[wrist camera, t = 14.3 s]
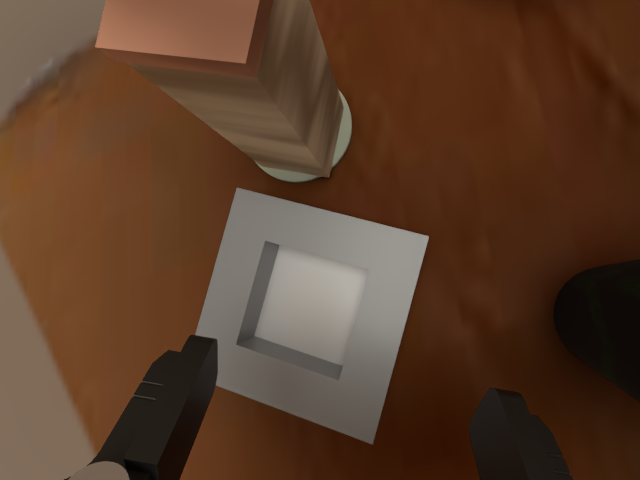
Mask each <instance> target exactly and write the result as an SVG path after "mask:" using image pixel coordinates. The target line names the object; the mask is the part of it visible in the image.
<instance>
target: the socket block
mask: <svg viewBox="0 0 640 480" xmlns="http://www.w3.org/2000/svg"><path fill="white" fill-rule="evenodd" d="M428 239H429V236H425V235H421V234H418V233H414V232H410V231H406V230H402V229H398V228H394V227H390V226H386V225H382V224H378V223H374V222H370V221H366V220H362V219H359V218H355V217H351V216H347V215H343V214H339V213H335V212H331V211H327V210H323V209H319V208H315V207H311V206H307V205H303V204H299V203H296V202H292V201H288V200H284V199H280V198H276V197H272V196H268V195H264V194H260V193H256V192H252V191H248V190H244V189H240V188H237V189H236V193H235V196H234V200H233V203H232V207H231V210H230V214H229V217H228V221H227V224H226V228H225V232H224V235H223V239H222V242H221V246H220V249H219V253H218V256H217V260H216V263H215V267H214V271H213V274H212V278H211V281H210V285H209V288H208V292H207V295H206V299H205V303H204V306H203V310H202V313H201V317H200V320H199V324H198V327H197V331H196V334H195V335H197V336H203V337H209V338H215V339H217V341H218V375H217V381H216V386H219V387H222V388H224V389H227V390H229V391H232V392H235V393H237V394H240V395H243V396H245V397H248V398H251V399H253V400H256V401H259V402H261V403H264V404H266V405H269V406H272V407H274V408H277V409H280V410H282V411H285V412H288V413H290V414H293V415H295V416H298V417H301V418H303V419H306V420H309V421H311V422H314V423H317V424H319V425H322V426H325V427H327V428H330V429H332V430H335V431H338V432H340V433H343V434H346V435H348V436H351V437H354V438H356V439H359V440H361V441H364V442H367V443H369V444H372V445H373V442H374V438H375V434H376V431H377V427H378V423H379V419H380V416H381V412H382V408H383V405H384V401H385V397H386V394H387V390H388V386H389V383H390V379H391V375H392V371H393V368H394V364H395V360H396V357H397V353H398V349H399V346H400V342H401V338H402V335H403V331H404V327H405V323H406V320H407V316H408V312H409V309H410V305H411V301H412V298H413V294H414V290H415V287H416V283H417V279H418V275H419V272H420V268H421V264H422V261H423V257H424V253H425V250H426V246H427V242H428Z"/></svg>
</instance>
